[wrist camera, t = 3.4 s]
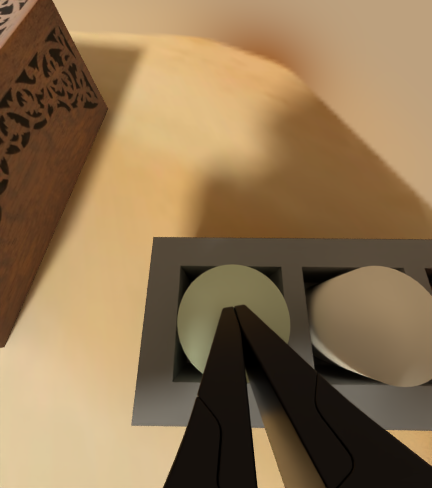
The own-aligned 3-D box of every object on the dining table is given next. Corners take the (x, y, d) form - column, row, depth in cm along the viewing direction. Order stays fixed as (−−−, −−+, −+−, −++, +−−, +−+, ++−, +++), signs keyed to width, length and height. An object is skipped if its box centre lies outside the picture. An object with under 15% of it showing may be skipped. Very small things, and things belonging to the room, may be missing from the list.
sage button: (268, 362, 12) (296, 385, 8) (188, 361, 12) (172, 383, 8) (263, 282, 13) (284, 264, 9) (192, 282, 13) (181, 263, 9)
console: (443, 381, 16) (647, 434, 8) (171, 376, 16) (131, 425, 9) (411, 273, 19) (543, 240, 11) (179, 271, 19) (153, 237, 11)
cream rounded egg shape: (378, 364, 12) (467, 388, 8) (297, 363, 12) (342, 386, 8) (361, 283, 13) (427, 266, 9) (289, 283, 13) (322, 265, 9)
